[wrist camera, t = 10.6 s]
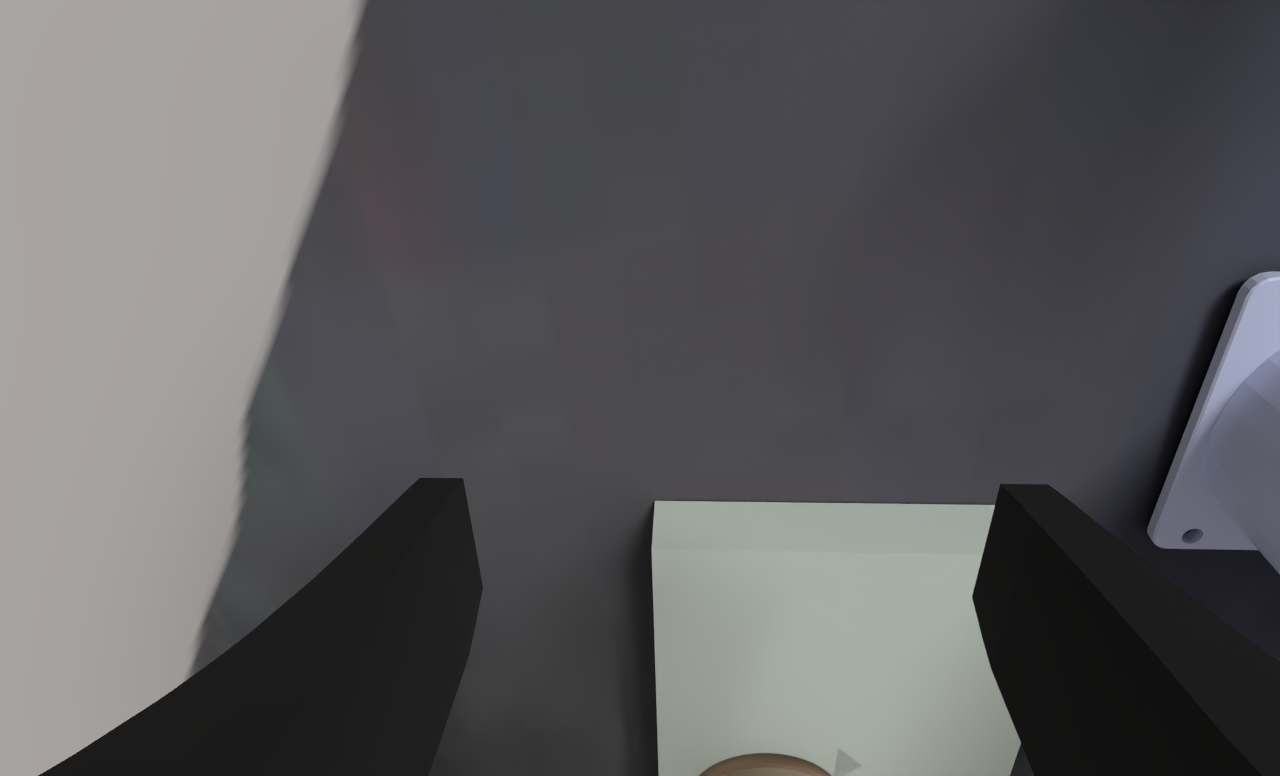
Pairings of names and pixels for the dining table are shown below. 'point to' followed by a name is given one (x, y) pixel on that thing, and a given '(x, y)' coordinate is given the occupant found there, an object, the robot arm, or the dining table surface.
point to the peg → (764, 766)
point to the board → (825, 638)
